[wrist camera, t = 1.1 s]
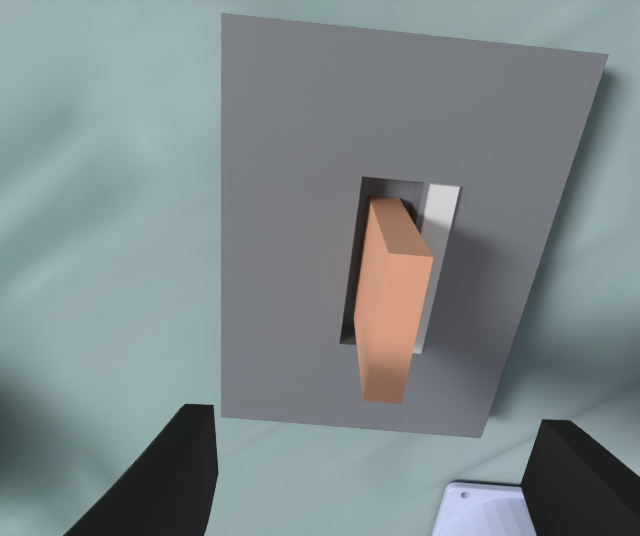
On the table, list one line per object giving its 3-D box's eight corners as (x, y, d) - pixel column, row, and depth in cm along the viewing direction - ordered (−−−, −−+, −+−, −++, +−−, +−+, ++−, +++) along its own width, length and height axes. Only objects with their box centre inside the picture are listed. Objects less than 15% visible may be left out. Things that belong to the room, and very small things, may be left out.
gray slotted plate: (574, 56, 15) (612, 54, 13) (468, 407, 22) (482, 441, 20) (234, 20, 15) (219, 12, 13) (230, 387, 21) (220, 420, 19)
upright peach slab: (398, 197, 17) (433, 257, 11) (379, 308, 19) (401, 404, 13) (368, 194, 17) (388, 253, 11) (352, 306, 19) (363, 401, 13)
